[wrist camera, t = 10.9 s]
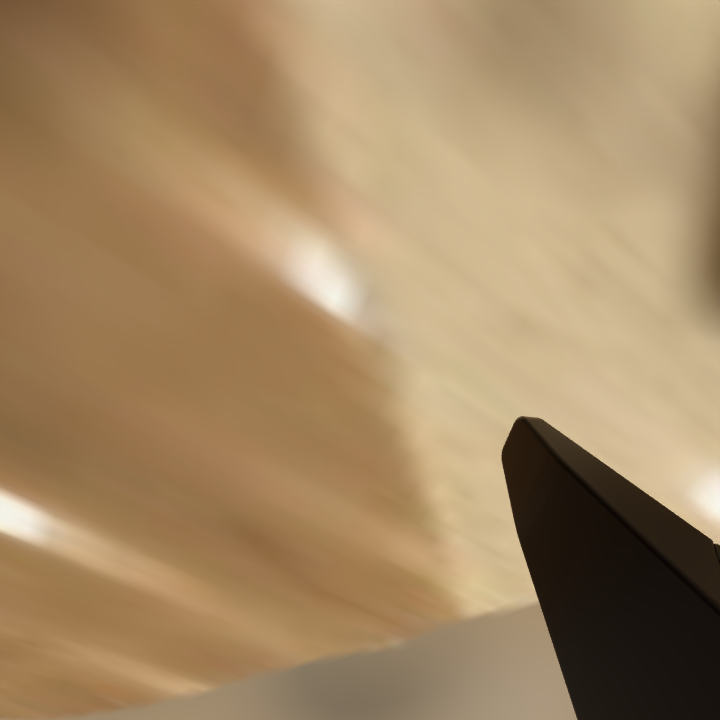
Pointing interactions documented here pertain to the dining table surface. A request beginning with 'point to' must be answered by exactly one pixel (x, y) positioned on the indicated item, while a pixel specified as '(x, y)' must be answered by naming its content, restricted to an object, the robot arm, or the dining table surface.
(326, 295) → the dining table surface
